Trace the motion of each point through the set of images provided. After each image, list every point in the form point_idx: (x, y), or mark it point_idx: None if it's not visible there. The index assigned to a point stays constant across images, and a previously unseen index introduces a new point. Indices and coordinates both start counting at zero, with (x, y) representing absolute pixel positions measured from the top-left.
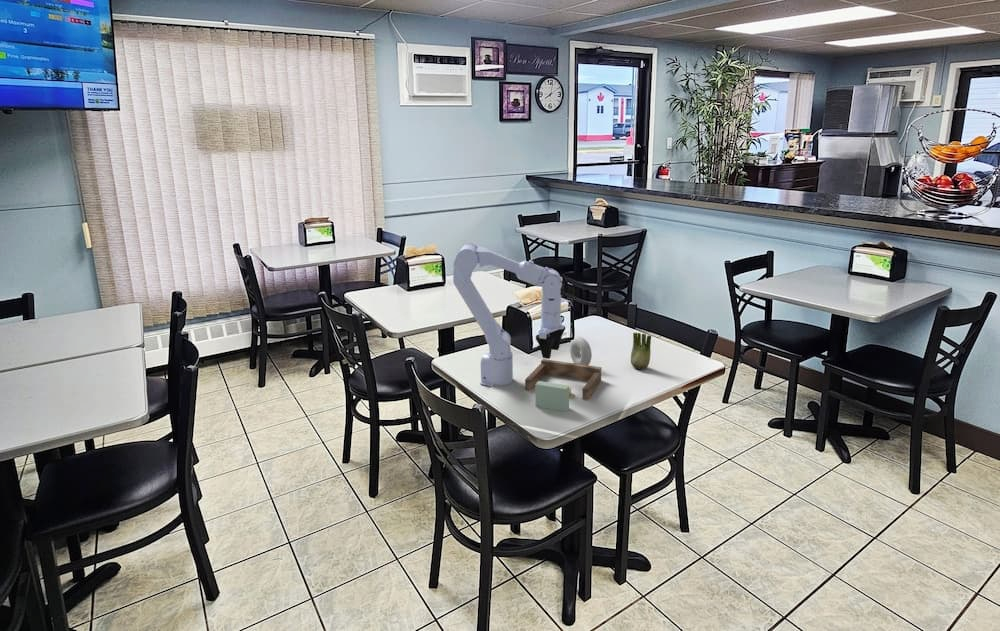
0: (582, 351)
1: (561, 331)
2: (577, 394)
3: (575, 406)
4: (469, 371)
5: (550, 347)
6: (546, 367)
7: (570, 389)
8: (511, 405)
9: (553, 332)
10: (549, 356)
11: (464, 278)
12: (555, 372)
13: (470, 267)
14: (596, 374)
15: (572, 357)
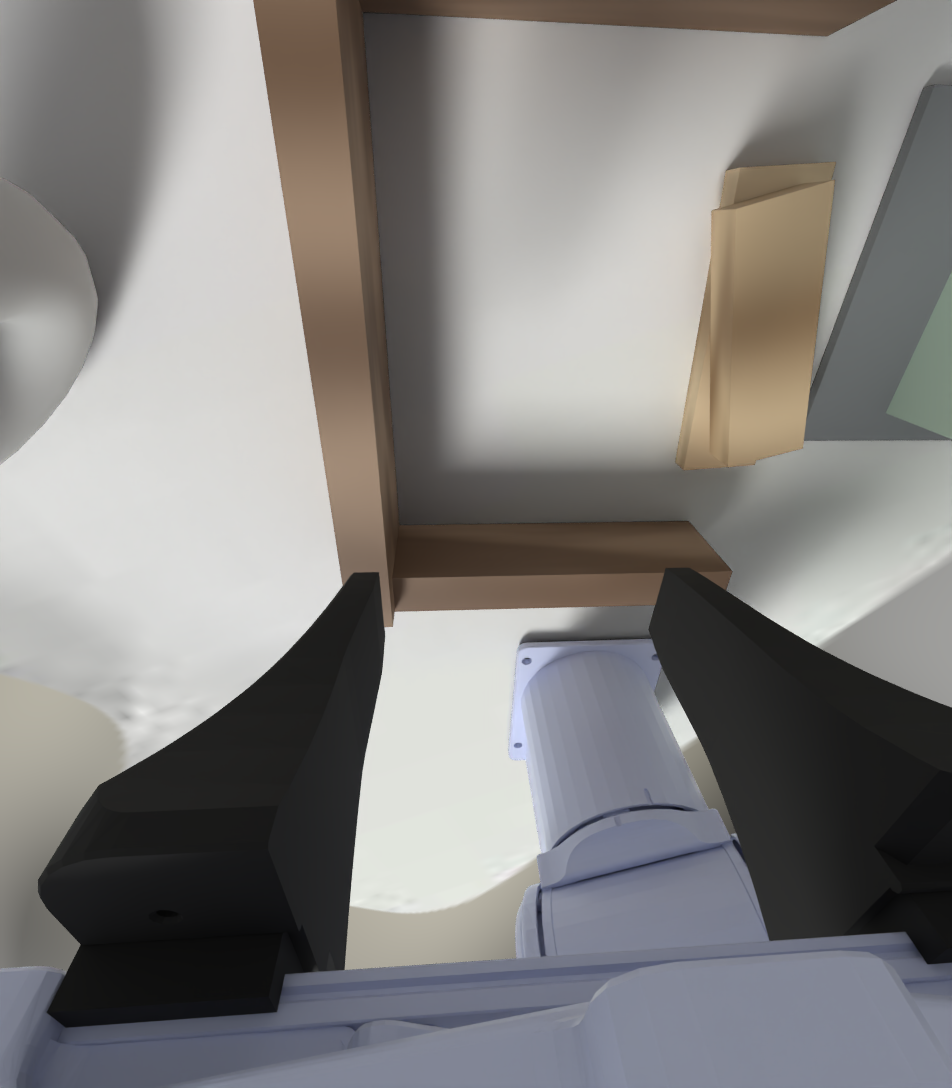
0: None
1: (304, 797)
2: (670, 150)
3: (932, 83)
4: (497, 819)
5: (850, 664)
6: (392, 556)
7: (779, 201)
8: (873, 550)
9: (335, 851)
10: (709, 582)
11: None
12: (391, 471)
13: None
14: None
15: (26, 433)
